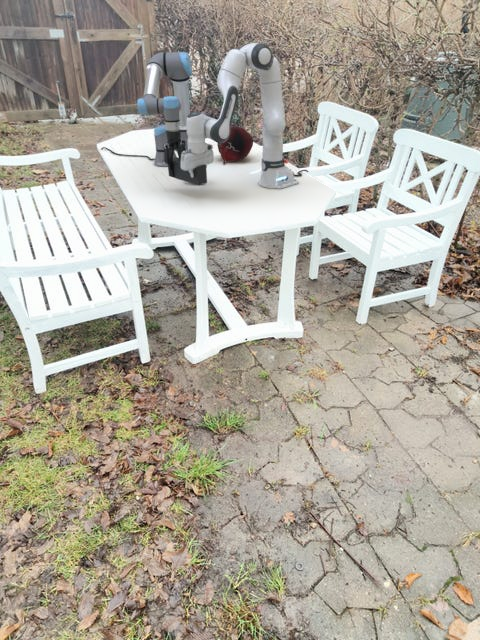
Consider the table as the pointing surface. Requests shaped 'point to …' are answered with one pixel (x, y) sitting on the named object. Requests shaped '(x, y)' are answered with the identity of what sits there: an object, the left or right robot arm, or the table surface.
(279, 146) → the right robot arm
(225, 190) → the table surface
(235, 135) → the dark red rounded piece
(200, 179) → the box
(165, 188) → the table surface
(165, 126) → the left robot arm
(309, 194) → the table surface
